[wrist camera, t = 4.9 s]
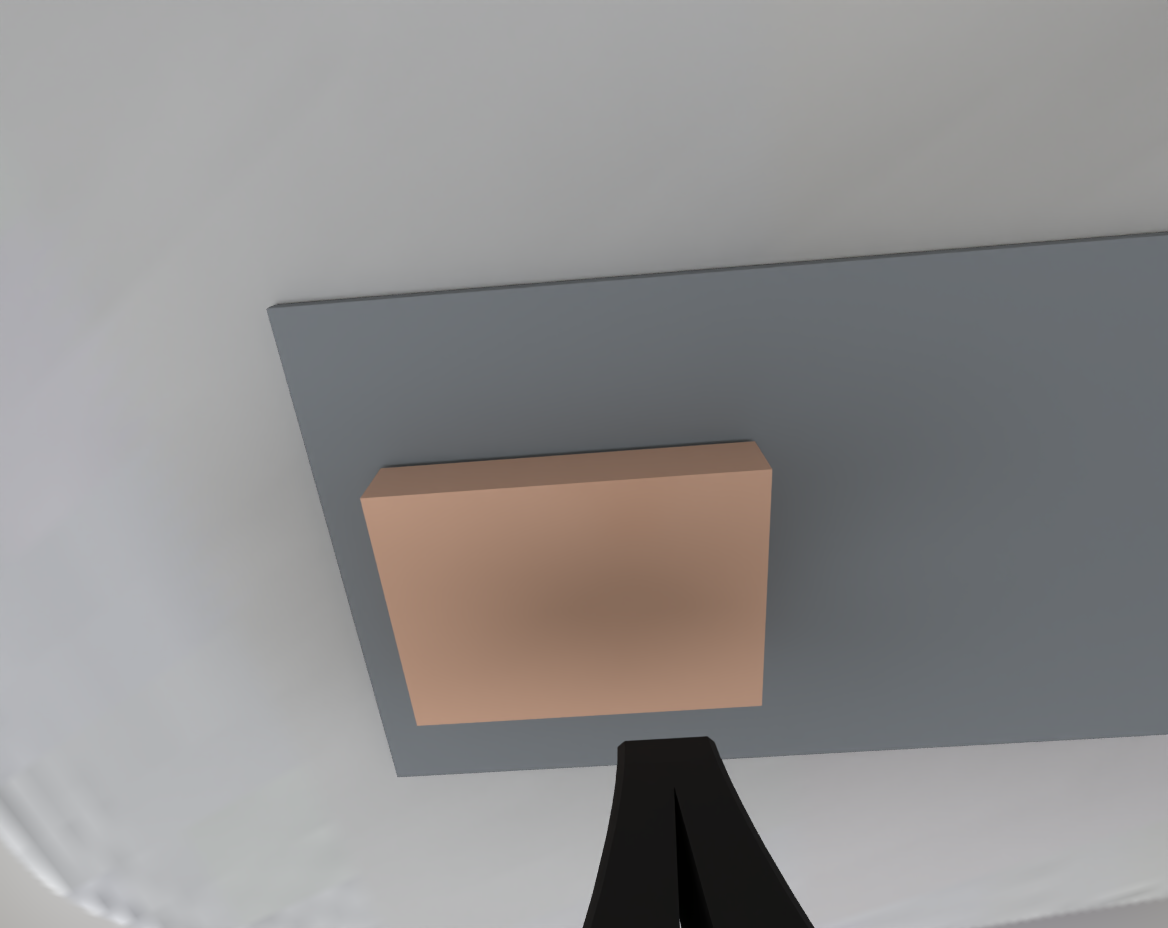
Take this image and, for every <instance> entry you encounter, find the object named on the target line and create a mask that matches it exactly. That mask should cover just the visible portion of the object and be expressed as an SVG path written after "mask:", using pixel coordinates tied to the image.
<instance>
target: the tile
mask: <svg viewBox="0 0 1168 928" xmlns="http://www.w3.org/2000/svg"><path fill="white" fill-rule="evenodd" d="M771 488H772V468H771V466H770V465H769V463H768V461H767V460H766V458H765V457H764V455H763V453H762V452H761V450H760V449H759V447H758V445H757V444H756V442H755V441H751V442H737V443H724V444H710V445H696V446H682V447H668V448H655V449H641V450H627V451H613V452H599V453H585V454H572V455H558V456H544V457H530V458H516V459H503V460H489V461H475V462H461V463H447V464H434V465H420V466H406V467H392V468H381V469H380V470H379V471H378V473H377V474H376V476H375V477H374V479H373V480H372V482H371V483H370V485H369V486H368V488H367V489H366V491H365V492H364V493H363V495H362V496H361V498H360V500H361V504H362V508H363V512H364V516H365V520H366V524H367V528H368V532H369V536H370V540H371V544H372V548H373V552H374V556H375V560H376V564H377V568H378V572H379V576H380V580H381V584H382V588H383V592H384V596H385V600H386V604H387V608H388V612H389V616H390V620H391V624H392V628H393V632H394V636H395V640H396V644H397V648H398V652H399V656H400V660H401V664H402V668H403V672H404V676H405V679H406V683H407V687H408V691H409V695H410V699H411V703H412V707H413V711H414V715H415V719H416V723H417V726H423V725H440V724H458V723H475V722H492V721H509V720H526V719H544V718H561V717H578V716H595V715H612V714H629V713H647V712H664V711H681V710H698V709H715V708H732V707H750V706H762V691H763V668H764V646H765V623H766V601H767V578H768V556H769V533H770V511H771Z"/></svg>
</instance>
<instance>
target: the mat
mask: <svg viewBox="0 0 1168 928" xmlns="http://www.w3.org/2000/svg"><path fill="white" fill-rule="evenodd" d="M267 313H268V316H269V320H270V323H271V327H272V330H273V334H274V338H275V341H276V345H277V348H278V352H279V355H280V359H281V363H282V366H283V370H284V373H285V377H286V380H287V384H288V387H289V391H290V395H291V398H292V402H293V405H294V409H295V412H296V416H297V420H298V423H299V427H300V430H301V434H302V437H303V441H304V445H305V448H306V452H307V455H308V459H309V462H310V466H311V470H312V473H313V477H314V480H315V484H316V487H317V491H318V495H319V498H320V502H321V505H322V509H323V512H324V516H325V520H326V523H327V527H328V530H329V534H330V537H331V541H332V545H333V548H334V552H335V555H336V559H337V562H338V566H339V570H340V573H341V577H342V580H343V584H344V587H345V591H346V595H347V598H348V602H349V605H350V609H351V612H352V616H353V620H354V623H355V627H356V630H357V634H358V637H359V641H360V645H361V648H362V652H363V655H364V659H365V662H366V666H367V670H368V673H369V677H370V680H371V684H372V687H373V691H374V695H375V698H376V702H377V705H378V709H379V712H380V716H381V719H382V723H383V727H384V730H385V734H386V737H387V741H388V744H389V748H390V752H391V755H392V759H393V762H394V766H395V769H396V773H397V777H410V776H428V775H446V774H464V773H482V772H500V771H518V770H536V769H554V768H572V767H590V766H608V765H617V747H618V746H619V745H620V744H622V743H623V742H624V741H631V740H649V739H667V738H684V737H702V736H708V737H709V738H710V739H712V740H713V741H714V742H715V744H716V747H717V749H718V752H719V754H720V757H721V759H734V758H752V757H770V756H788V755H806V754H824V753H843V752H861V751H879V750H897V749H915V748H933V747H951V746H969V745H987V744H1005V743H1023V742H1041V741H1059V740H1077V739H1095V738H1113V737H1131V736H1149V735H1167V734H1168V232H1158V233H1146V234H1134V235H1122V236H1110V237H1097V238H1085V239H1073V240H1061V241H1048V242H1036V243H1024V244H1012V245H1000V246H987V247H975V248H963V249H951V250H938V251H926V252H914V253H902V254H890V255H877V256H865V257H853V258H841V259H828V260H816V261H804V262H792V263H780V264H767V265H755V266H743V267H731V268H718V269H706V270H694V271H682V272H670V273H657V274H645V275H633V276H621V277H608V278H596V279H584V280H572V281H560V282H547V283H535V284H523V285H511V286H498V287H486V288H474V289H462V290H449V291H437V292H425V293H413V294H401V295H388V296H376V297H364V298H352V299H339V300H327V301H315V302H303V303H291V304H278V305H274V306H271V307H269V308H267ZM751 441H755V442H756V444H757V445H758V447H759V449H760V450H761V452H762V453H763V455H764V457H765V458H766V460H767V461H768V463H769V465H770V466H771V468H772V488H771V511H770V533H769V556H768V578H767V601H766V623H765V646H764V668H763V691H762V706H750V707H732V708H715V709H698V710H681V711H664V712H647V713H629V714H612V715H595V716H578V717H561V718H544V719H526V720H509V721H492V722H475V723H458V724H440V725H423V726H417V723H416V719H415V715H414V711H413V707H412V703H411V699H410V695H409V691H408V687H407V683H406V679H405V676H404V672H403V668H402V664H401V660H400V656H399V652H398V648H397V644H396V640H395V636H394V632H393V628H392V624H391V620H390V616H389V612H388V608H387V604H386V600H385V596H384V592H383V588H382V584H381V580H380V576H379V572H378V568H377V564H376V560H375V556H374V552H373V548H372V544H371V540H370V536H369V532H368V528H367V524H366V520H365V516H364V512H363V508H362V504H361V500H360V498H361V496H362V495H363V493H364V492H365V491H366V489H367V488H368V486H369V485H370V483H371V482H372V480H373V479H374V477H375V476H376V474H377V473H378V471H379V470H380V469H381V468H392V467H406V466H420V465H434V464H447V463H461V462H475V461H489V460H503V459H516V458H530V457H544V456H558V455H572V454H585V453H599V452H613V451H627V450H641V449H655V448H668V447H682V446H696V445H710V444H724V443H737V442H751Z"/></svg>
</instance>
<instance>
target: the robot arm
mask: <svg viewBox="0 0 1168 928" xmlns="http://www.w3.org/2000/svg"><path fill="white" fill-rule="evenodd" d="M679 918H680V920H679ZM680 923H681V928H814V926H813V925H812V923H811V922H810V920H809V918H808V917H807V915H806V914H805V912H804V910H803V909H802V907H801V906H800V904H799V902H798V901H797V899H796V898H795V896H794V894H793V893H792V891H791V889H790V888H789V886H788V884H787V882H786V881H785V879H784V877H783V876H782V874H781V872H780V871H779V869H778V867H777V865H776V864H775V862H774V860H773V859H772V857H771V855H770V854H769V852H768V850H767V848H766V847H765V845H764V843H763V841H762V840H761V838H760V836H759V834H758V832H757V831H756V829H755V827H754V825H753V823H752V821H751V819H750V817H749V815H748V814H747V812H746V810H745V808H744V806H743V804H742V802H741V800H740V798H739V796H738V794H737V792H736V790H735V788H734V786H733V784H732V782H731V780H730V777H729V775H728V773H727V771H726V769H725V766H724V764H723V762H722V759H721V757H720V754H719V752H718V749H717V747H716V744H715V742H714V741H713V740H712V739H710V738H709V737H708V736H702V737H684V738H667V739H649V740H631V741H624V742H623V743H622V744H620V745H619V746H618V747H617V772H616V783H615V790H614V797H613V804H612V809H611V815H610V820H609V825H608V831H607V836H606V840H605V844H604V848H603V853H602V857H601V861H600V865H599V869H598V874H597V878H596V882H595V886H594V890H593V894H592V898H591V901H590V905H589V908H588V912H587V915H586V918H585V922H584V925H583V928H680Z"/></svg>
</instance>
